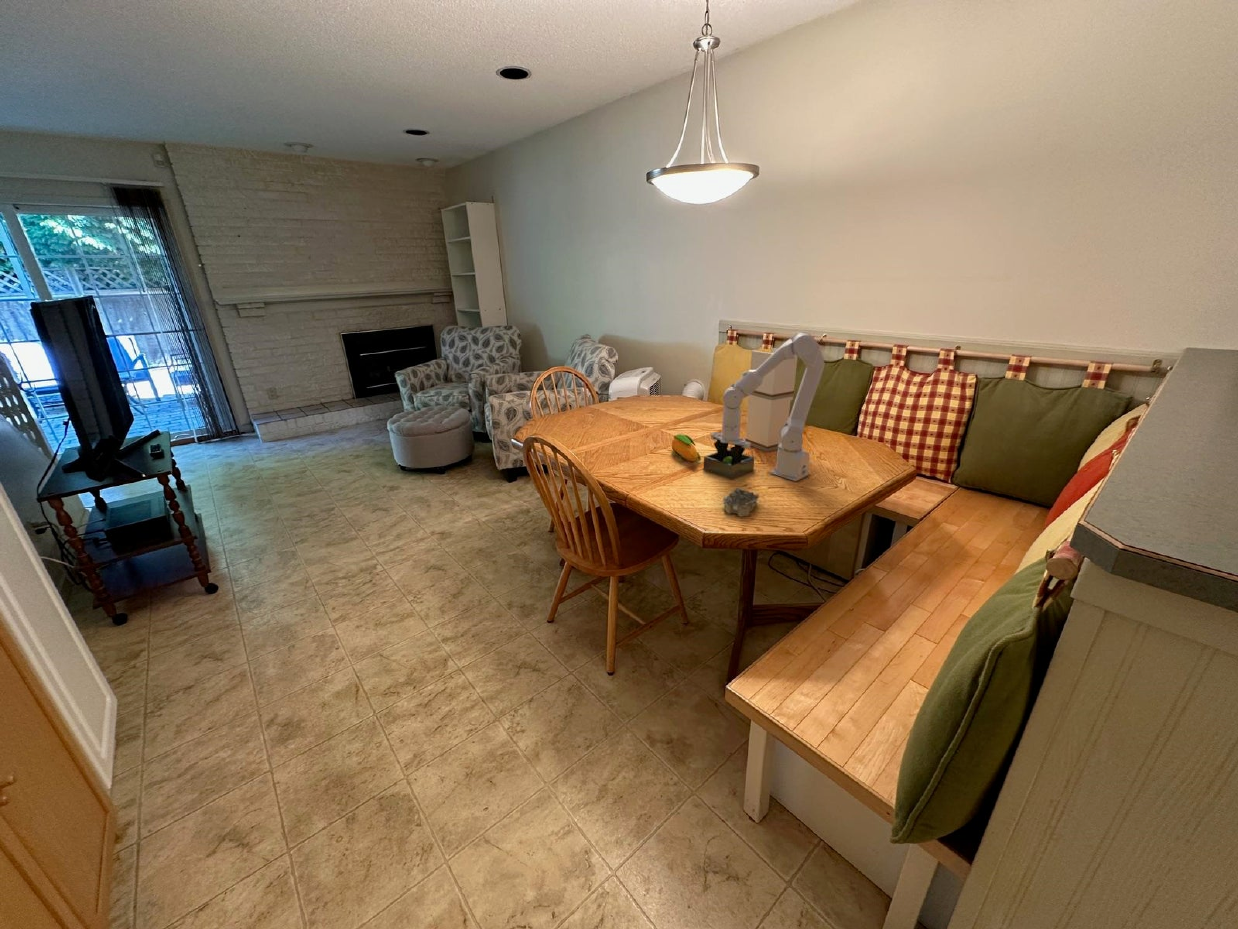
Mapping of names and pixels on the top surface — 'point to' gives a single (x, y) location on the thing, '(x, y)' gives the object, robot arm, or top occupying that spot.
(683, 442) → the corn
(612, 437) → the top surface
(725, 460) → the pea
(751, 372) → the robot arm
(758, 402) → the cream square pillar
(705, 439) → the top surface
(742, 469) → the dark grey open box
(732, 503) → the gray rock
